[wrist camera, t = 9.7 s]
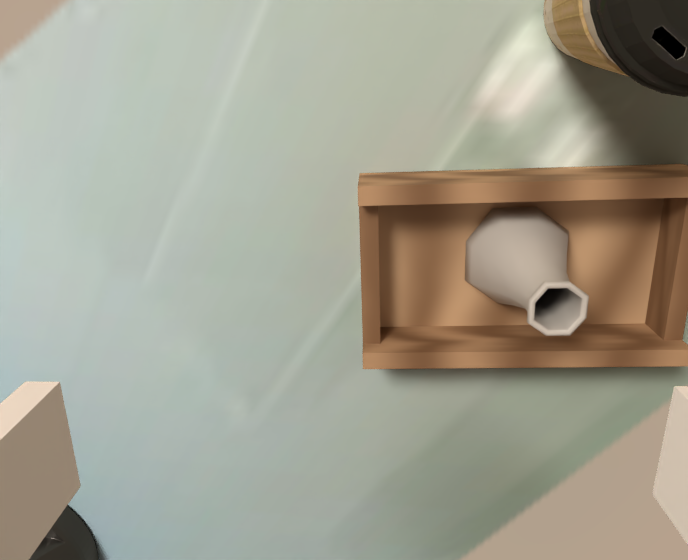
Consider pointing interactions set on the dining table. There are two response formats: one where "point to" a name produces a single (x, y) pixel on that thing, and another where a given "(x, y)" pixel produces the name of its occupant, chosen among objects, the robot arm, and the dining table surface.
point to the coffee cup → (626, 38)
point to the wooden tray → (511, 321)
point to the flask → (526, 268)
